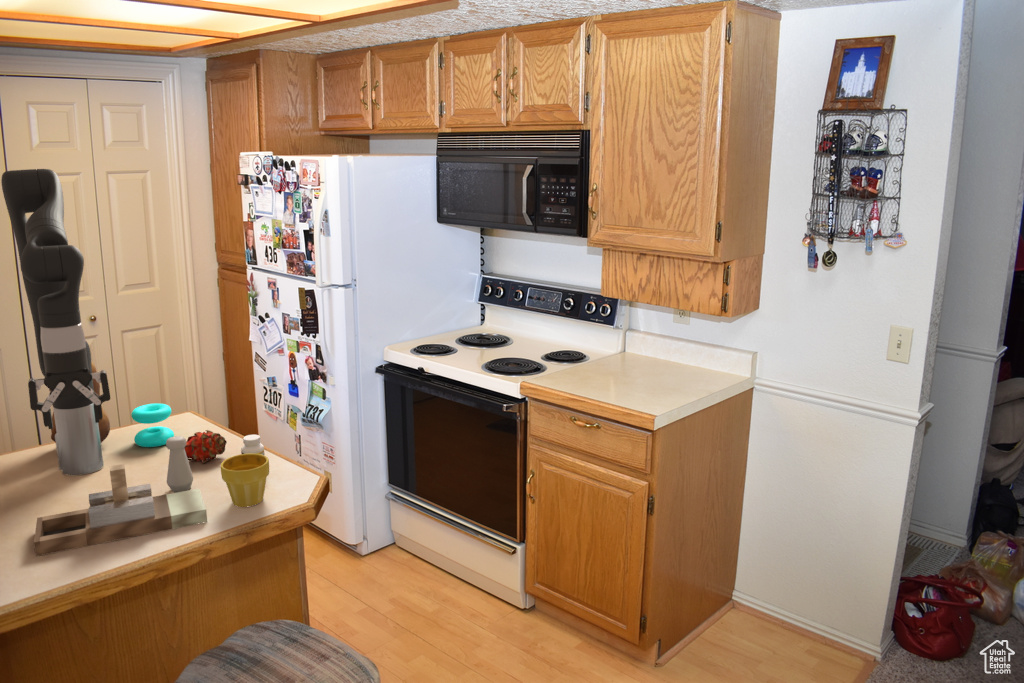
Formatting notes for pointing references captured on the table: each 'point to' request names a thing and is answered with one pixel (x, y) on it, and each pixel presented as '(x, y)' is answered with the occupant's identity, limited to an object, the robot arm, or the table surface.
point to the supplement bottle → (252, 445)
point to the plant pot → (245, 478)
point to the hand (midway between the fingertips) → (74, 424)
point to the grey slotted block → (121, 507)
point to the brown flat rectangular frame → (77, 530)
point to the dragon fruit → (204, 446)
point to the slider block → (119, 484)
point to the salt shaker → (178, 465)
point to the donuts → (148, 416)
